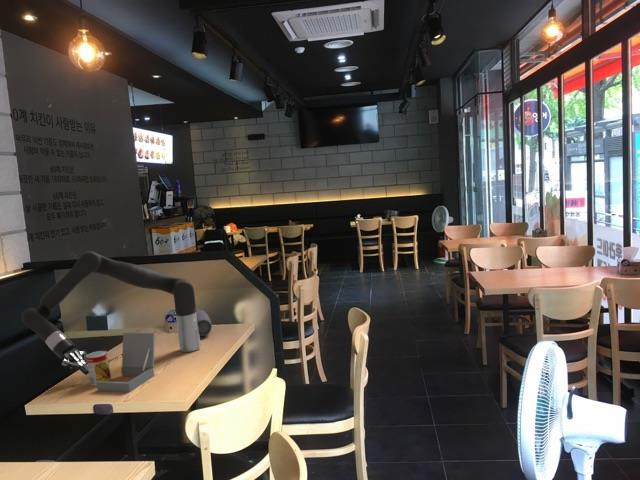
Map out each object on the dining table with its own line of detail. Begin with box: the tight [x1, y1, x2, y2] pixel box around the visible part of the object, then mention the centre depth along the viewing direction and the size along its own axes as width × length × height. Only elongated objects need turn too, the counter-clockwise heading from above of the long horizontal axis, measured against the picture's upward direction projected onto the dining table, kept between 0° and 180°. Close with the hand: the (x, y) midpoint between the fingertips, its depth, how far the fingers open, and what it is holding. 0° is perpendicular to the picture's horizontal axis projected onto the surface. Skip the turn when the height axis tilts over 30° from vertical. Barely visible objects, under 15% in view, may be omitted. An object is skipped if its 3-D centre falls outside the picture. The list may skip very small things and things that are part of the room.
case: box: [96, 332, 156, 393], centre depth 213 cm, size 15×20×17 cm
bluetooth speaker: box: [196, 309, 213, 336], centre depth 274 cm, size 23×9×10 cm, turn 17°
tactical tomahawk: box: [108, 353, 123, 363], centre depth 240 cm, size 21×7×1 cm, turn 145°
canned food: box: [86, 350, 112, 387], centre depth 215 cm, size 8×8×12 cm
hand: (88, 372), depth 217 cm, fingers closed
